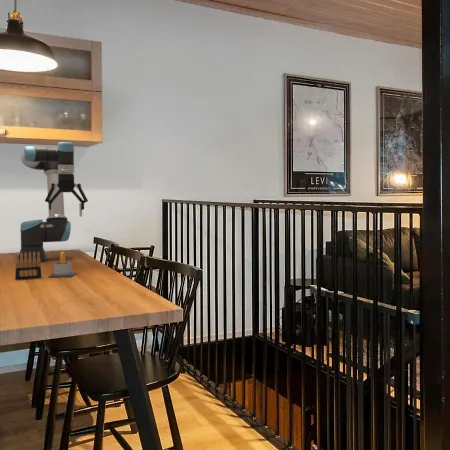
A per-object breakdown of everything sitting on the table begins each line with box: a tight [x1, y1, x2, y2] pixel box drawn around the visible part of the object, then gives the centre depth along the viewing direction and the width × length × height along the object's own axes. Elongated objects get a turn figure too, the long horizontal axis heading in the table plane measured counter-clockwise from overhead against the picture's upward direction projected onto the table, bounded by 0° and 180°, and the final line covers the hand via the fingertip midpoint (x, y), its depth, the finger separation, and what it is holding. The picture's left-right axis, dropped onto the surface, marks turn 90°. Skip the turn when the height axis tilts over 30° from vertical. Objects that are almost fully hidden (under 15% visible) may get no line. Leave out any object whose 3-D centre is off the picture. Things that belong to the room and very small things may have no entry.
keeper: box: [47, 251, 78, 279], centre depth 218 cm, size 12×10×11 cm
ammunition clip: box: [14, 251, 43, 281], centre depth 210 cm, size 11×2×12 cm, turn 118°
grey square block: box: [53, 261, 73, 275], centre depth 218 cm, size 6×6×5 cm
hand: (66, 216), depth 236 cm, fingers open, 13 cm apart
